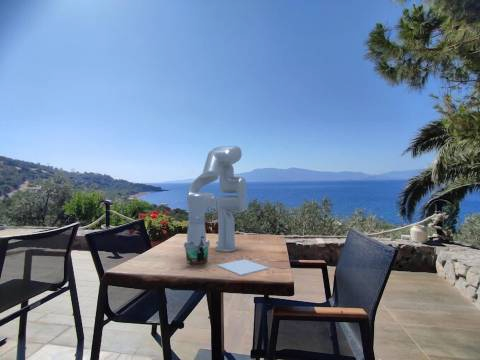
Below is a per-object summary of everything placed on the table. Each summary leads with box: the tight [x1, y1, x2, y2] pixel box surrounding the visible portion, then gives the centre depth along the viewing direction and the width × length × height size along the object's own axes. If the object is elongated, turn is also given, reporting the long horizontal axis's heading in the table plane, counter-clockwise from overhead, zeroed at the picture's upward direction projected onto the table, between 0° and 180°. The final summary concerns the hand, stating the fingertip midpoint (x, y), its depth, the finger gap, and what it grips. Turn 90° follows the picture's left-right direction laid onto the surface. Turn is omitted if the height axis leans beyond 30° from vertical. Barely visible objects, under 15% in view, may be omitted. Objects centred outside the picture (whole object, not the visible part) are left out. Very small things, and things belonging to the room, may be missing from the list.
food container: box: [183, 240, 211, 266], centre depth 129 cm, size 12×6×10 cm, turn 111°
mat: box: [216, 259, 270, 277], centre depth 127 cm, size 18×16×1 cm
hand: (197, 259), depth 129 cm, fingers closed on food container, 5 cm apart
